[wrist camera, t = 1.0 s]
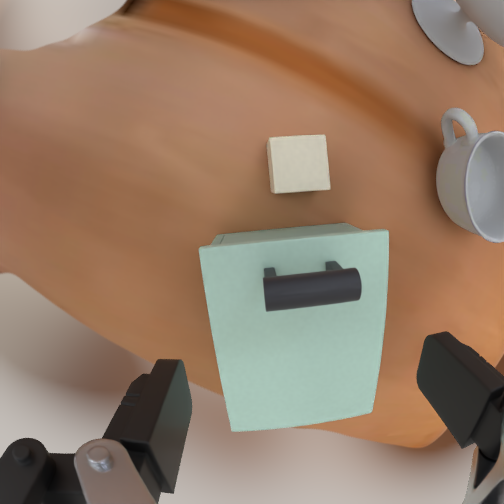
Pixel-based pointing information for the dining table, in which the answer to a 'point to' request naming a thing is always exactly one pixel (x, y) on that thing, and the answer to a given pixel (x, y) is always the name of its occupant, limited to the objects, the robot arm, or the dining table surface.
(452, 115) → the teacup
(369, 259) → the lid
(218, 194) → the dining table surface
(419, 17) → the chalice
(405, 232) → the dining table surface
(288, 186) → the block
